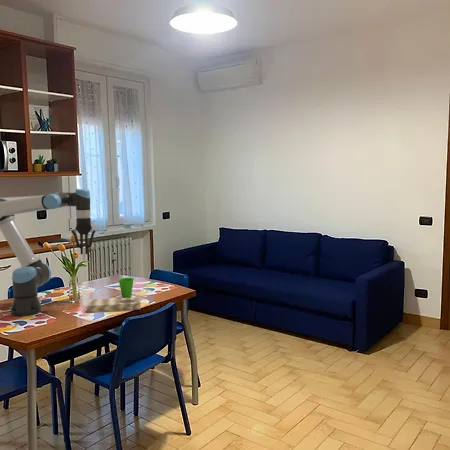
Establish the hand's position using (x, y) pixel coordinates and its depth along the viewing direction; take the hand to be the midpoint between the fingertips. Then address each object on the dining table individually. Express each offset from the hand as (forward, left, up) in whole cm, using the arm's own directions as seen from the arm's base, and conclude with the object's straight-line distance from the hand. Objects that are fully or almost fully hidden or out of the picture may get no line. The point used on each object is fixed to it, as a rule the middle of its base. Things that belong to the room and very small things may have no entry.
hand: (84, 259), depth 256 cm
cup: (+22, +12, -26) cm, 36 cm away
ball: (+22, -8, -24) cm, 34 cm away
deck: (+16, -7, -26) cm, 31 cm away
